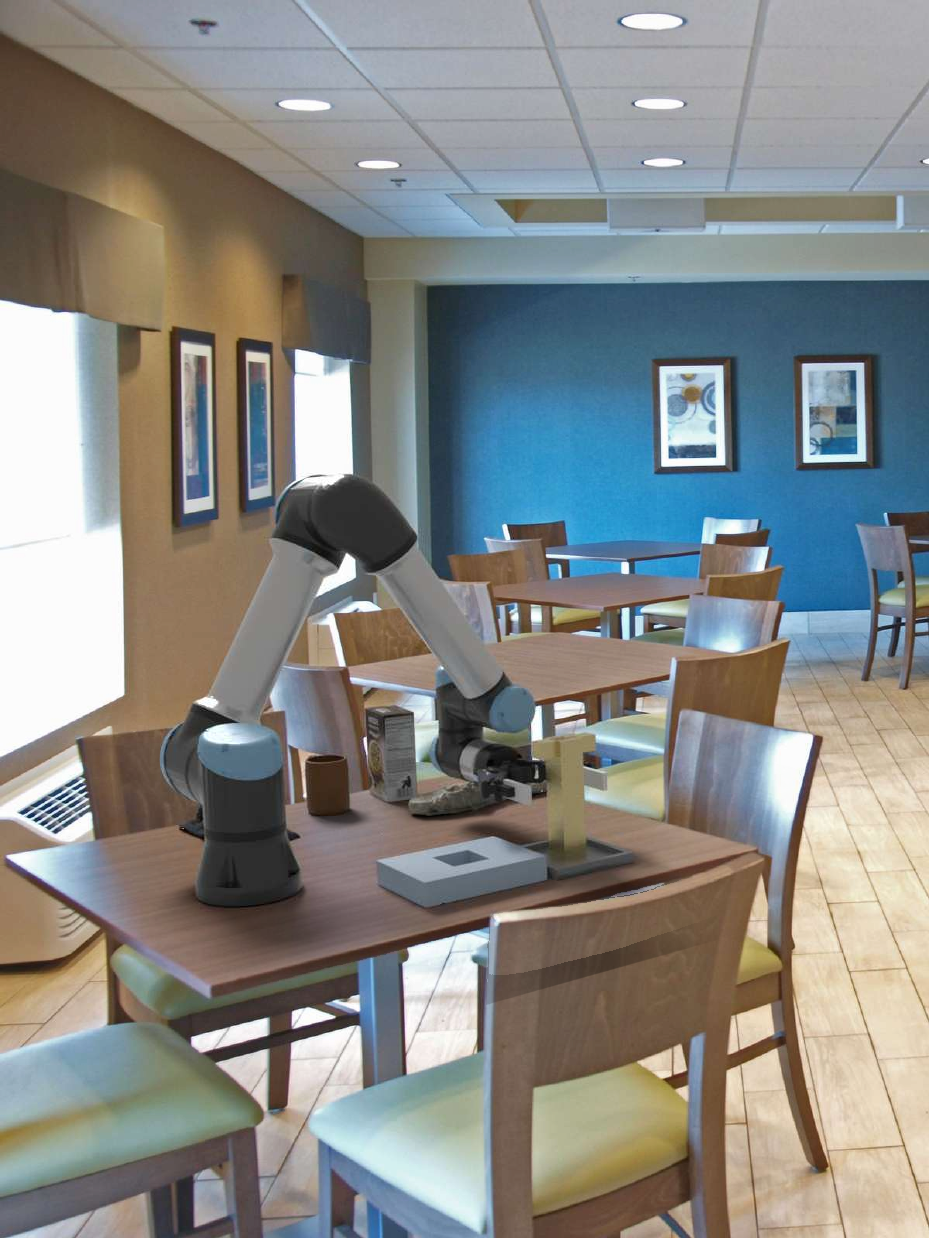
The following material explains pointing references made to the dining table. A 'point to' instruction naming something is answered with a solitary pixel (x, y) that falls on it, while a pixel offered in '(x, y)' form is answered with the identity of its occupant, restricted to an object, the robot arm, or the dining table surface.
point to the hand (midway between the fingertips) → (568, 788)
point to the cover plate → (461, 871)
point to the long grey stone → (458, 799)
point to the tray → (597, 858)
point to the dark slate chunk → (198, 826)
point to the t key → (565, 792)
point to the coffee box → (391, 753)
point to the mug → (327, 784)
